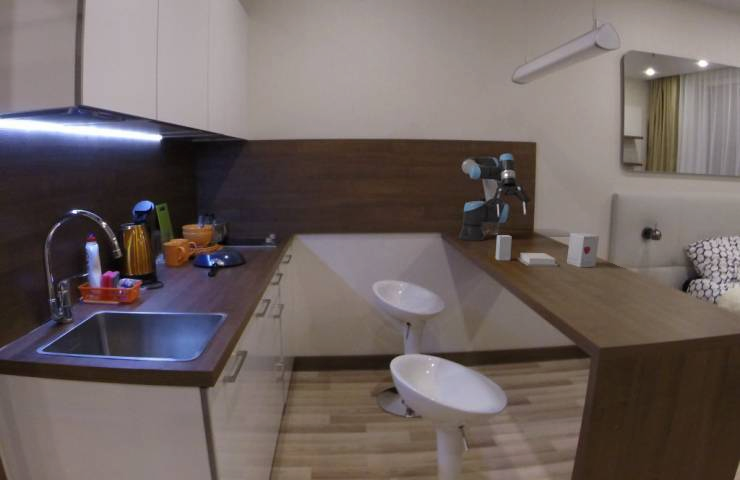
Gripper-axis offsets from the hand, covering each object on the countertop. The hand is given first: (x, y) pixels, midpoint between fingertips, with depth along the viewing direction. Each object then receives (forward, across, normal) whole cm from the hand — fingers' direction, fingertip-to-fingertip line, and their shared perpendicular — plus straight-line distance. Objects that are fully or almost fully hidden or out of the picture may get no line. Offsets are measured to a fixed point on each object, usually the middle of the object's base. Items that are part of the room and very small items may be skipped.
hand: (511, 214), depth 228 cm
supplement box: (+33, +28, -9) cm, 44 cm away
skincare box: (+29, -7, -13) cm, 33 cm away
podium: (+31, +9, -13) cm, 35 cm away
